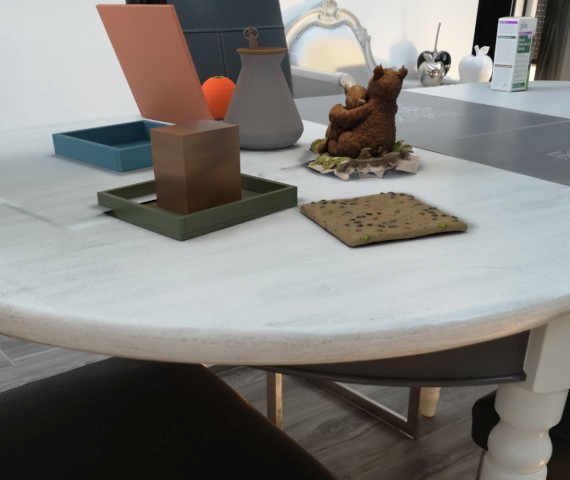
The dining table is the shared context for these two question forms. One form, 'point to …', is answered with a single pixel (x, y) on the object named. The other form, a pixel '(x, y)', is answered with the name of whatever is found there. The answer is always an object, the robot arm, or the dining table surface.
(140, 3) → the robot arm
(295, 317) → the dining table surface
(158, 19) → the lunchbox lid
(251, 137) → the grey lidded jar
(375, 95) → the bear figurine
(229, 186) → the block
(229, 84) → the clementine
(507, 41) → the syrup box
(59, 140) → the tray
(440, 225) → the cookie
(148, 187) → the tray
